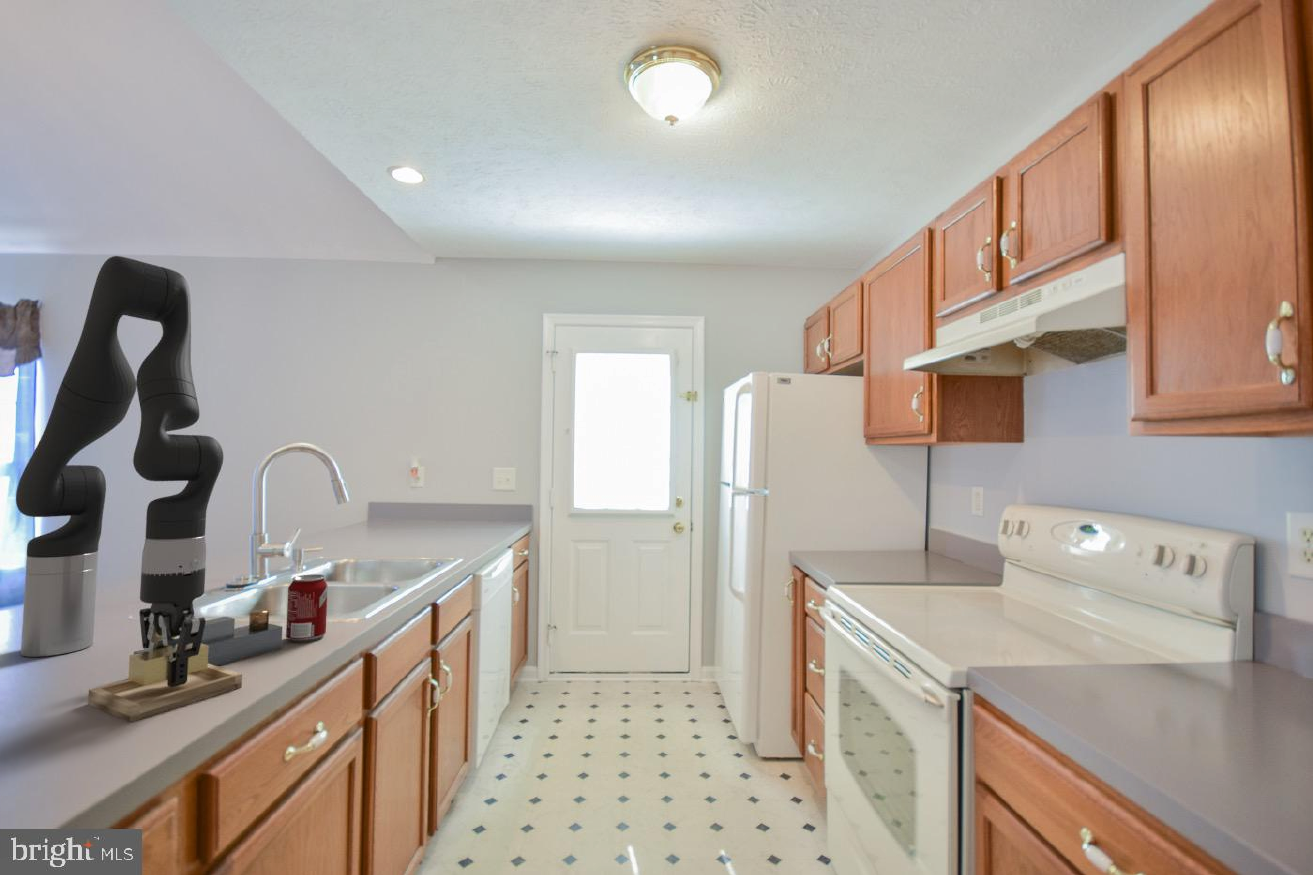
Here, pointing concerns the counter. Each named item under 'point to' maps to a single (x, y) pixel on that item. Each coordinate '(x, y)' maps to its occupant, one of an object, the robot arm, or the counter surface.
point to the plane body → (239, 638)
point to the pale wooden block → (161, 665)
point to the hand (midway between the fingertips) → (168, 681)
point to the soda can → (306, 608)
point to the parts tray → (162, 693)
